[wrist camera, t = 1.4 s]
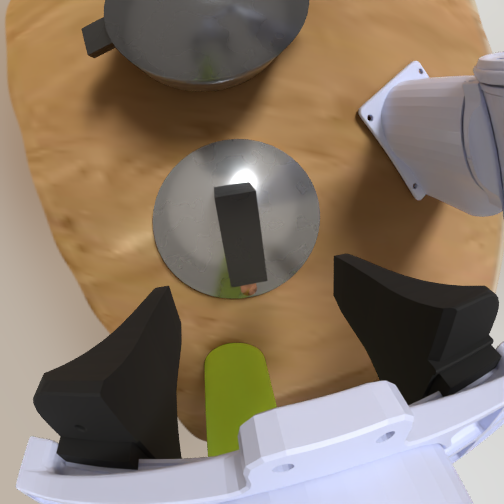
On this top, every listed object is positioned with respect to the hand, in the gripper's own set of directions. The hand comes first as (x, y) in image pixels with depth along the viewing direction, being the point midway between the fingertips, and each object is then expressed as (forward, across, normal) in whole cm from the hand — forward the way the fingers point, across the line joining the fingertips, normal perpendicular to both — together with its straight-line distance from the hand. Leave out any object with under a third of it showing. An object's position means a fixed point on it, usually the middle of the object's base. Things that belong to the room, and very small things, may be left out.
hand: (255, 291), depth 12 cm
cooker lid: (+10, 0, 0) cm, 10 cm away
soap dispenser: (+10, +2, +14) cm, 17 cm away
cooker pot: (+9, 0, -15) cm, 18 cm away
